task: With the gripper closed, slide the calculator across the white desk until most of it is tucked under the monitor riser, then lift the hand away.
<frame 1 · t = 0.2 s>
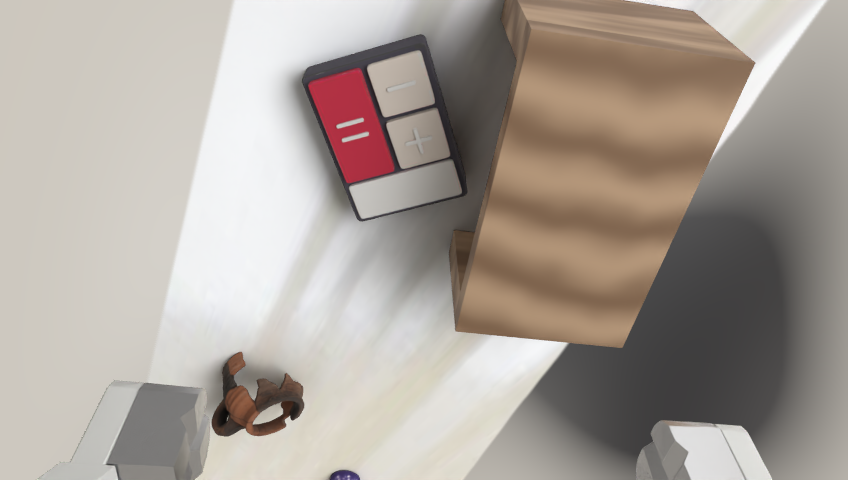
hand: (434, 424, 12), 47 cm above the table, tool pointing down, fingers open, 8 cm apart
monitor riser: (556, 146, 62), on the table
calculator: (390, 123, 61), on the table
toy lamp: (342, 477, 92), on the table
brown curved loop: (258, 378, 80), on the table
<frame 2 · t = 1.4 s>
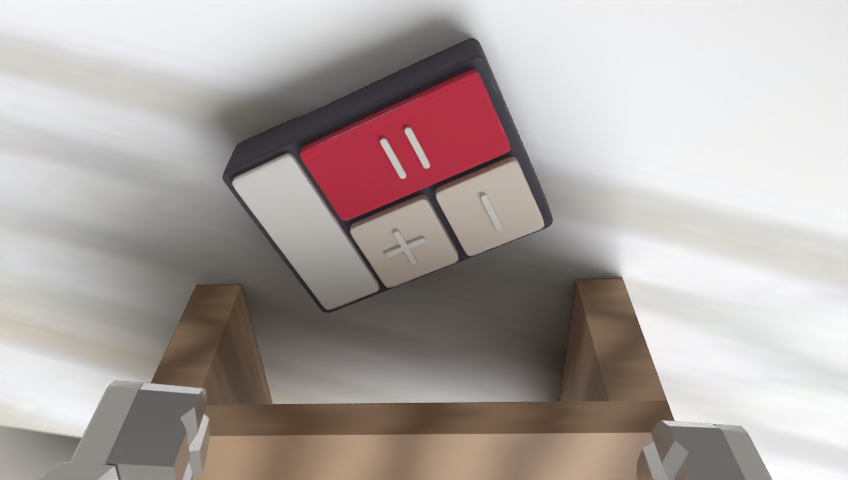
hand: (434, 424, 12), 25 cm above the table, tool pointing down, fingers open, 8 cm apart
monitor riser: (412, 366, 47), on the table
calculator: (394, 169, 38), on the table
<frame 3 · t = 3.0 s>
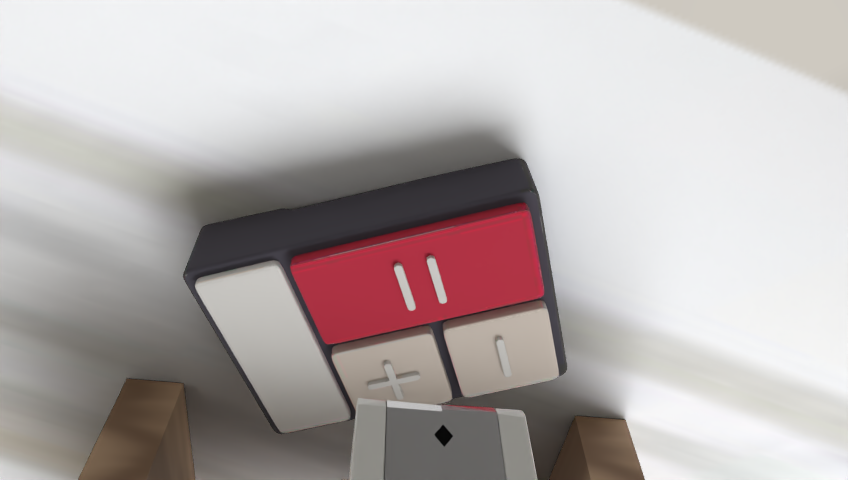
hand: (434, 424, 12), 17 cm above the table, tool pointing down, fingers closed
calculator: (390, 279, 32), on the table
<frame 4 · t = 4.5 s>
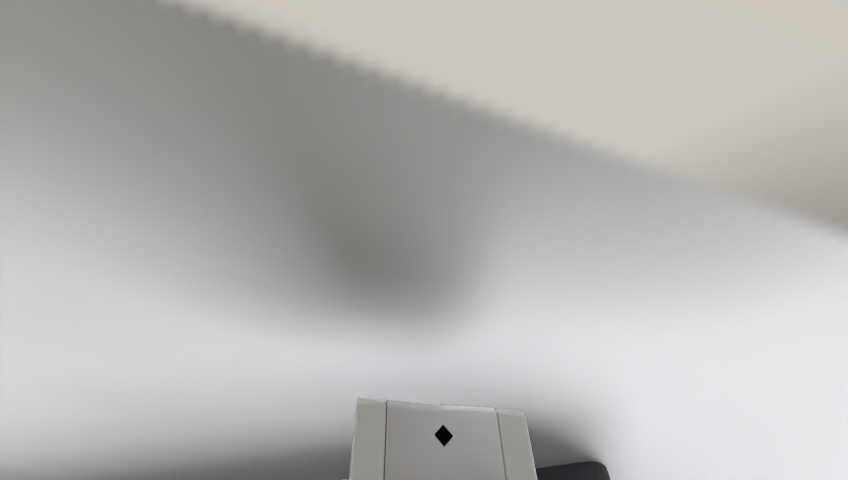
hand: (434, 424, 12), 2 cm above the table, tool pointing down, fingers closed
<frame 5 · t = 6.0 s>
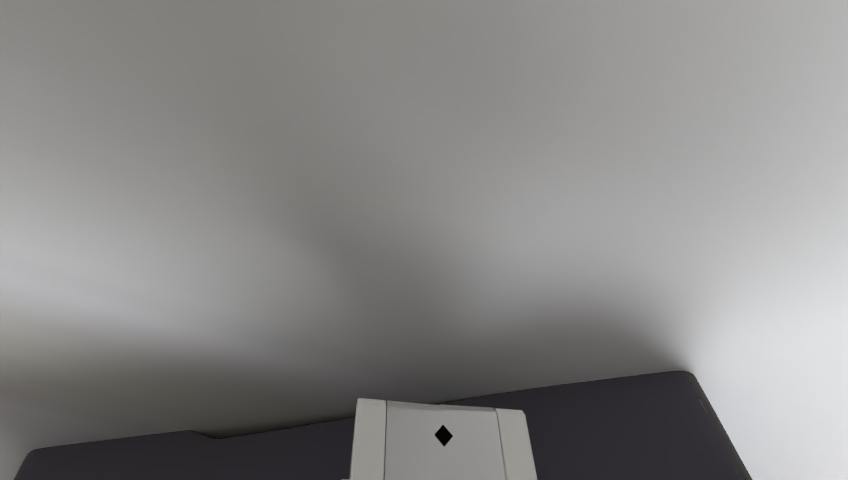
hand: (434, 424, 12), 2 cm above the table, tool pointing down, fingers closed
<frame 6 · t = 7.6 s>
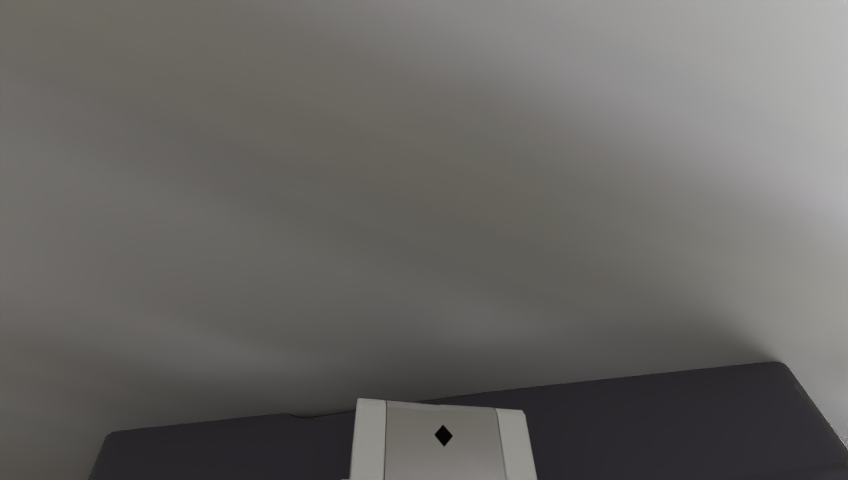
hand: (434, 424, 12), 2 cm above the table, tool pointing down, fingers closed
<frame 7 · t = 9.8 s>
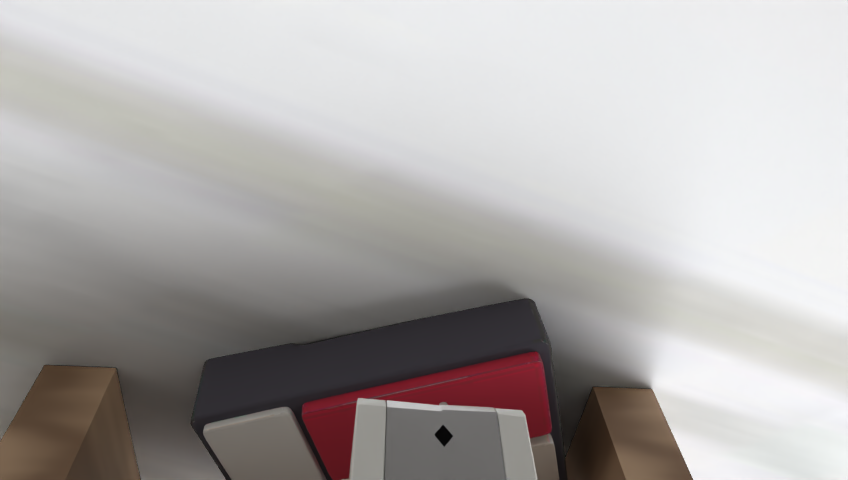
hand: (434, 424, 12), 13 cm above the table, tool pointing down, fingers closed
calculator: (394, 400, 32), on the table
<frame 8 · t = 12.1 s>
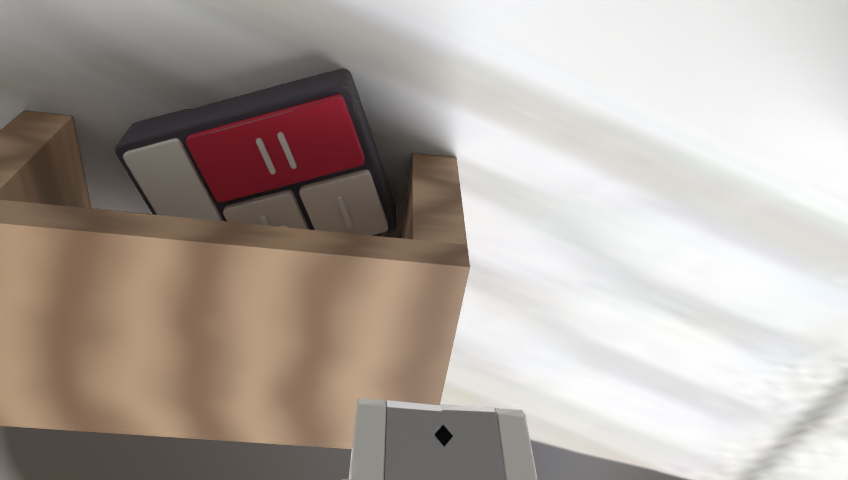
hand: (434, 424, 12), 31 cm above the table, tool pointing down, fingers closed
monitor riser: (249, 233, 47), on the table
calculator: (271, 165, 44), on the table
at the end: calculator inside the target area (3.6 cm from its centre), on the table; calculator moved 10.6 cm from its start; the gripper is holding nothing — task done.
